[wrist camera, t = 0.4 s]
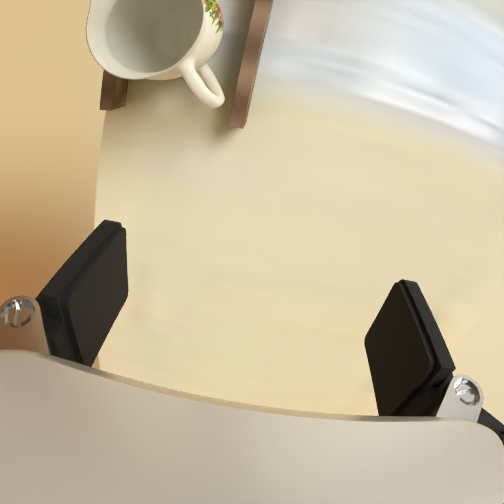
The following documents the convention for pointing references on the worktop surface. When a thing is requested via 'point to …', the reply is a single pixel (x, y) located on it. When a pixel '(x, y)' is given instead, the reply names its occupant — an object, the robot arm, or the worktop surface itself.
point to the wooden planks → (117, 87)
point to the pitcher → (158, 41)
